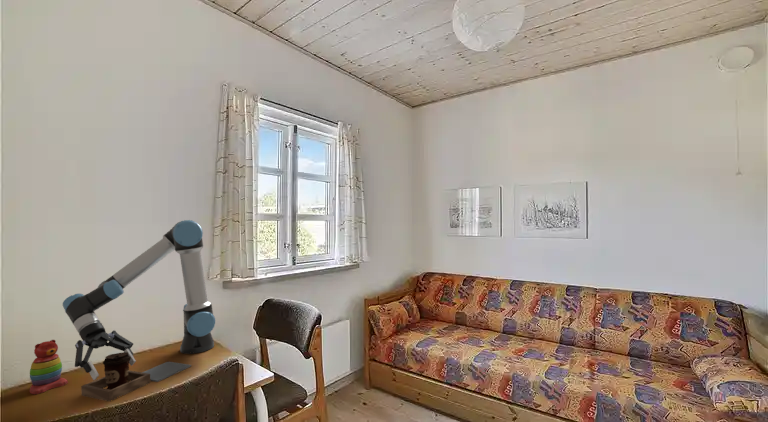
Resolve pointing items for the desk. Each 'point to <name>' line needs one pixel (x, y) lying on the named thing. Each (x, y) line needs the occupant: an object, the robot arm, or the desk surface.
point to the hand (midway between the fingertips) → (115, 370)
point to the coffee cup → (116, 369)
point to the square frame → (98, 391)
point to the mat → (165, 370)
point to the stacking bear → (46, 368)
